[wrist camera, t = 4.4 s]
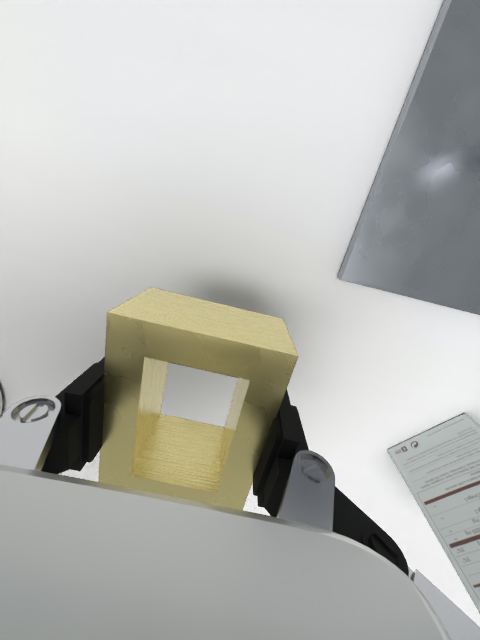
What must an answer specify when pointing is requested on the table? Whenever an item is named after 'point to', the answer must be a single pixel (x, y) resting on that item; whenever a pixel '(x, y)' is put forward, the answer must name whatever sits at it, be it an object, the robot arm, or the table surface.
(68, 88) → the table surface
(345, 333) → the table surface
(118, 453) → the hollow rectangular wooden block
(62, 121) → the table surface
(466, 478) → the supplement box
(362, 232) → the keeper plate
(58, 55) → the table surface
